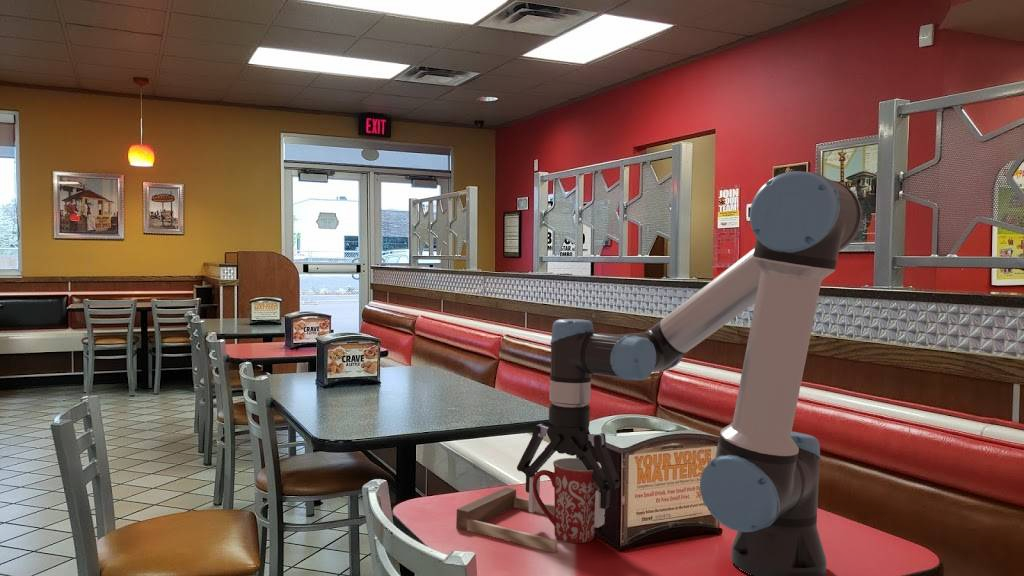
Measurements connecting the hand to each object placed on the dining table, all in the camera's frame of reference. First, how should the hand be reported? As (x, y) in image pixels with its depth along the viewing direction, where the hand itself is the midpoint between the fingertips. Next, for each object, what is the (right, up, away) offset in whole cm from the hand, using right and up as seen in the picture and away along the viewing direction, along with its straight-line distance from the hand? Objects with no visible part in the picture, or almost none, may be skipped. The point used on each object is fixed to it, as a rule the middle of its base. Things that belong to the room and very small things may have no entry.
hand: (565, 517), depth 137 cm
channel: (-7, -3, +4) cm, 9 cm away
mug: (0, -4, 0) cm, 4 cm away
